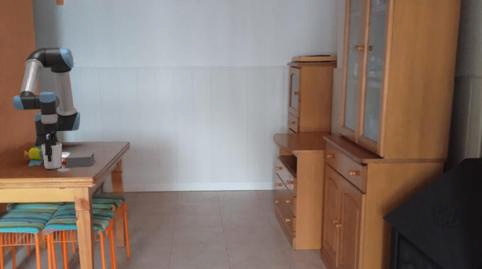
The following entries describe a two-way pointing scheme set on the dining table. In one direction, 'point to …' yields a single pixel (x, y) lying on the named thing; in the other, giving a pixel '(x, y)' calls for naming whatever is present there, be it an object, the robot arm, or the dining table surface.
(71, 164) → the block
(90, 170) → the dining table surface
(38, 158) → the yellow and blue toy
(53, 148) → the candle holder
